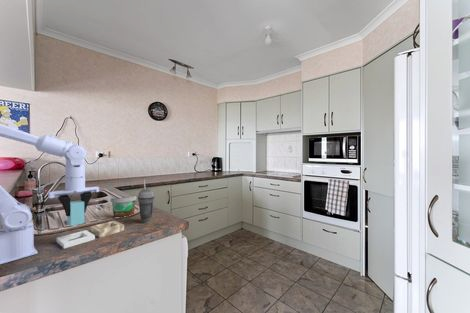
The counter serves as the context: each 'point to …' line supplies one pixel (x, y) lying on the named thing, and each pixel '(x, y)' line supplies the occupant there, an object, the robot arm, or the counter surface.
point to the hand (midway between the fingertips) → (75, 214)
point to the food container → (123, 206)
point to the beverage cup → (146, 204)
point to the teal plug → (76, 213)
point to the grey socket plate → (65, 243)
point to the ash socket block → (107, 228)
